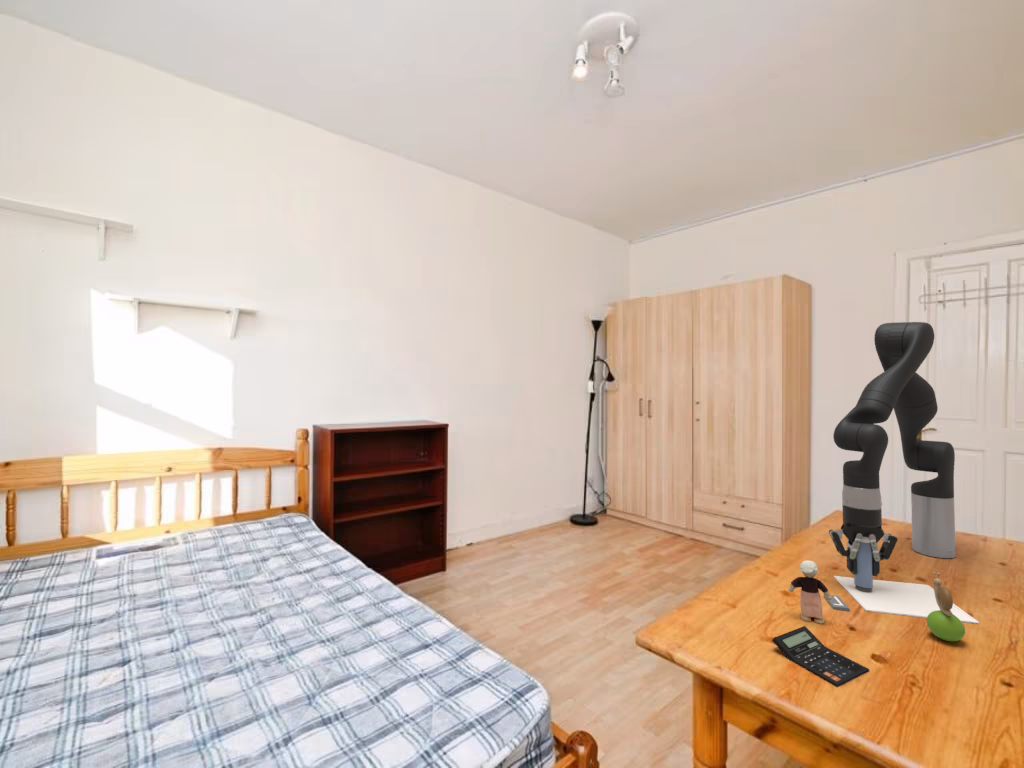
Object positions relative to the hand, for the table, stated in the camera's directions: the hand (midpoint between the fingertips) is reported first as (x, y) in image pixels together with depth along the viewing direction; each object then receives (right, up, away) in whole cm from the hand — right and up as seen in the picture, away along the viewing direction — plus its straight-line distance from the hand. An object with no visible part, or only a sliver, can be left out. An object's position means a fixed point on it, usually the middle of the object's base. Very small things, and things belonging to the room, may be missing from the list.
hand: (863, 573), depth 107 cm
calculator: (-29, -5, -26) cm, 40 cm away
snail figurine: (0, -4, -20) cm, 20 cm away
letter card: (-11, -4, -6) cm, 13 cm away
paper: (+5, -4, -4) cm, 8 cm away
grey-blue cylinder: (0, -4, 0) cm, 4 cm away
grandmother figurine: (-21, -5, -12) cm, 25 cm away
